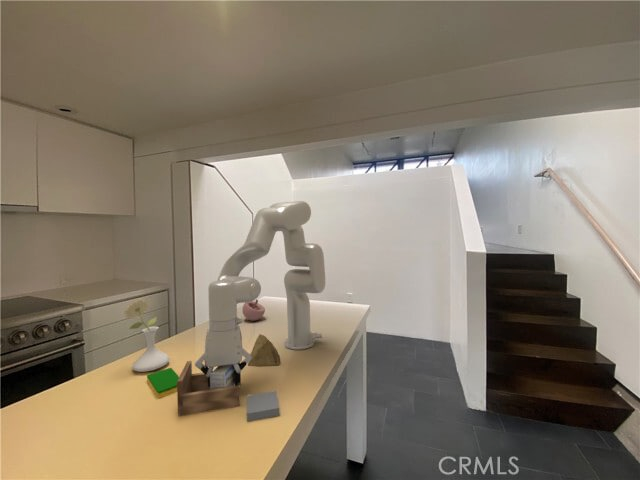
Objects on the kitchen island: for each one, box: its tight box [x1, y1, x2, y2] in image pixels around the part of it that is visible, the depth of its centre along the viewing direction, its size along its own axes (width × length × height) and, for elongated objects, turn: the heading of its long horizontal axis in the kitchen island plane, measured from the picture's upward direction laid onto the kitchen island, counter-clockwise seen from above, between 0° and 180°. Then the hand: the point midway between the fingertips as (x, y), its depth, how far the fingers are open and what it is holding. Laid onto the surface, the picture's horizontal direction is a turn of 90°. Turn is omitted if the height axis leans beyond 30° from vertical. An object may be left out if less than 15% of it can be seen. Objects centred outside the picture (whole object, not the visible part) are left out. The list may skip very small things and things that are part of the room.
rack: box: [176, 360, 242, 417], centre depth 78 cm, size 15×12×9 cm
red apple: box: [242, 298, 266, 322], centre depth 150 cm, size 12×12×12 cm
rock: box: [247, 333, 281, 367], centre depth 98 cm, size 11×9×10 cm
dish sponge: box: [146, 367, 180, 399], centre depth 86 cm, size 7×14×2 cm, turn 43°
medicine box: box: [210, 365, 235, 390], centre depth 79 cm, size 8×4×9 cm, turn 173°
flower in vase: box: [123, 298, 170, 373], centre depth 97 cm, size 13×11×25 cm
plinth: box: [246, 390, 280, 422], centre depth 73 cm, size 8×8×2 cm
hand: (224, 386), depth 79 cm, fingers open, 6 cm apart
